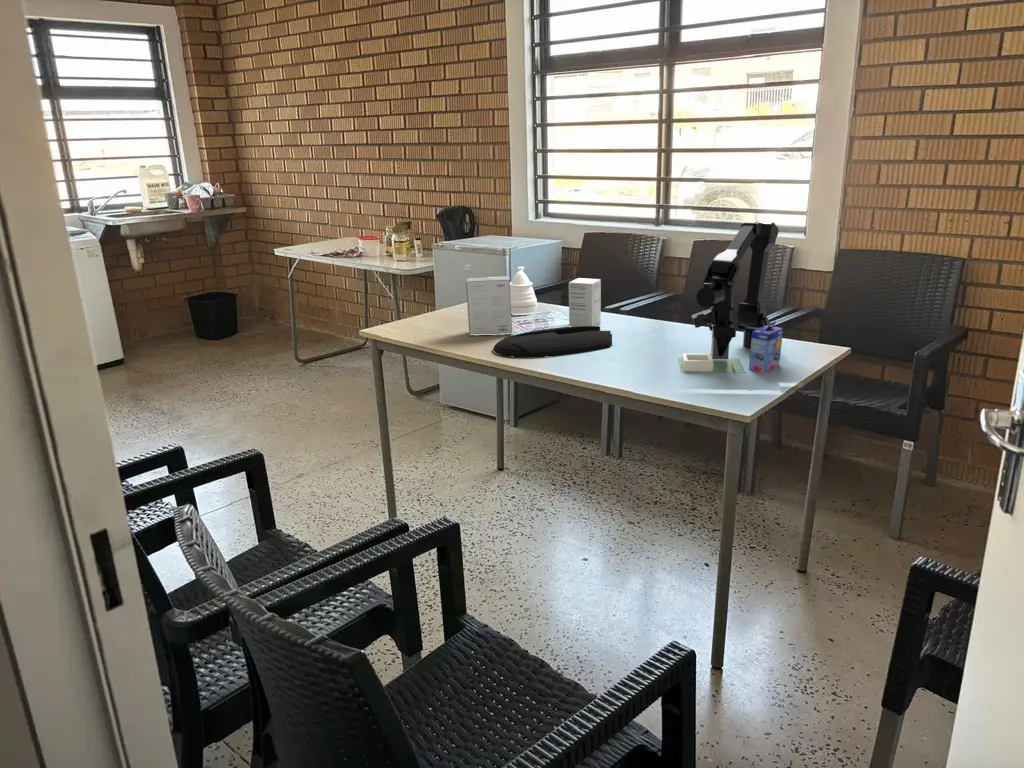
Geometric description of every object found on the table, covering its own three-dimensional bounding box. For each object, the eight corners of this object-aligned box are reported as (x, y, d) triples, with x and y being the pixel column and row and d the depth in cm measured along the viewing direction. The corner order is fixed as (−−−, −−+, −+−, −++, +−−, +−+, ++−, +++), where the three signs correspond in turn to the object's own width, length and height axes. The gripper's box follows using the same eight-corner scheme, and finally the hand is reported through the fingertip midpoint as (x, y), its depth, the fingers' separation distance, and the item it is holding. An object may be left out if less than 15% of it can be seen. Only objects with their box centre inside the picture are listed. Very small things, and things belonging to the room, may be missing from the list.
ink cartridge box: (766, 376, 212) (769, 325, 207) (747, 372, 215) (750, 323, 211) (780, 368, 219) (784, 319, 214) (762, 365, 222) (765, 317, 218)
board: (677, 361, 229) (677, 353, 228) (738, 361, 226) (739, 353, 226) (680, 375, 215) (680, 367, 214) (745, 376, 212) (746, 367, 211)
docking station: (482, 346, 256) (481, 332, 254) (589, 332, 269) (589, 319, 268) (508, 364, 233) (508, 348, 232) (623, 348, 247) (624, 333, 246)
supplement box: (578, 322, 284) (577, 277, 279) (601, 323, 280) (601, 278, 275) (568, 327, 276) (568, 281, 271) (592, 329, 272) (592, 283, 267)
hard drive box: (512, 330, 275) (510, 276, 269) (512, 335, 267) (510, 279, 261) (470, 331, 275) (467, 277, 269) (468, 336, 268) (465, 281, 262)
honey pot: (508, 309, 311) (507, 265, 306) (539, 309, 309) (538, 265, 304) (502, 315, 299) (501, 270, 294) (535, 316, 297) (533, 270, 292)
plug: (711, 355, 226) (712, 333, 224) (726, 355, 226) (727, 333, 224) (712, 359, 222) (713, 337, 220) (728, 359, 221) (729, 337, 219)
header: (682, 363, 223) (682, 353, 222) (710, 363, 222) (710, 353, 221) (683, 371, 215) (684, 361, 215) (712, 371, 214) (713, 361, 213)
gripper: (691, 295, 229) (689, 345, 233) (696, 308, 211) (694, 362, 216) (729, 295, 227) (726, 345, 232) (737, 308, 209) (734, 362, 214)
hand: (719, 353), depth 223 cm, fingers closed on plug, 4 cm apart
